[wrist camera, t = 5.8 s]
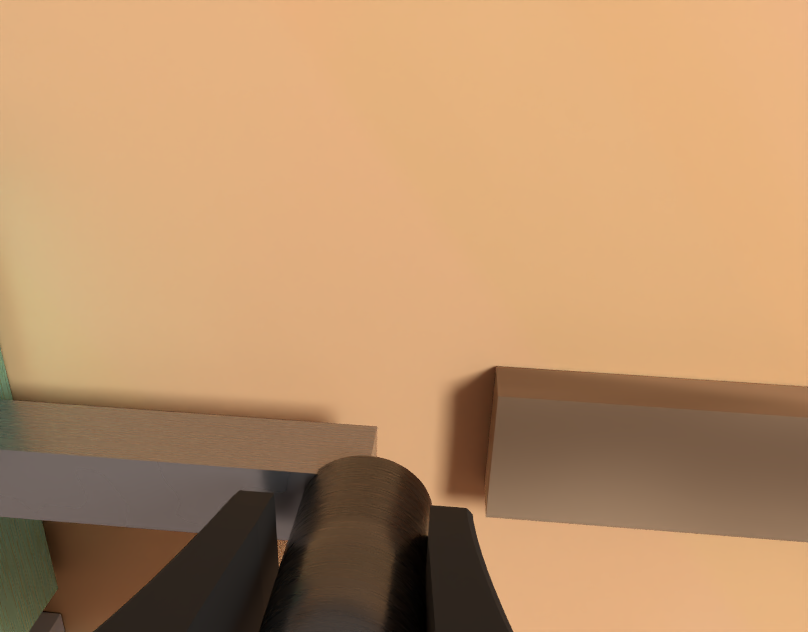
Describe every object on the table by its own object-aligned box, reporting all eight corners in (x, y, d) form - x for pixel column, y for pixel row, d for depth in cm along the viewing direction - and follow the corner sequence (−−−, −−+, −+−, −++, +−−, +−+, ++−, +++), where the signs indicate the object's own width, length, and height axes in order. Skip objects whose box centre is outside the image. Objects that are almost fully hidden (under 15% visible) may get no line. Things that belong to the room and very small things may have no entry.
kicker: (426, 620, 17) (400, 1023, 11) (-3, 583, 18) (-283, 940, 11) (453, 182, 13) (436, 405, 6) (-127, 152, 13) (-729, 322, 7)
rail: (941, 515, 16) (976, 555, 14) (484, 481, 16) (485, 516, 15) (994, 399, 14) (1036, 433, 13) (495, 366, 15) (497, 396, 14)
